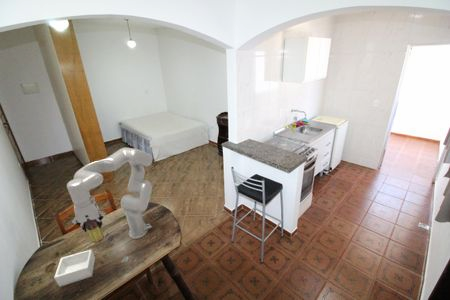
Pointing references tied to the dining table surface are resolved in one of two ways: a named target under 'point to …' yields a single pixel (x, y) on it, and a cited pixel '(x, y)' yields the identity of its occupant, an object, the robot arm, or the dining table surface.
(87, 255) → the storage box
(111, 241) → the dining table surface
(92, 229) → the sauce bottle
